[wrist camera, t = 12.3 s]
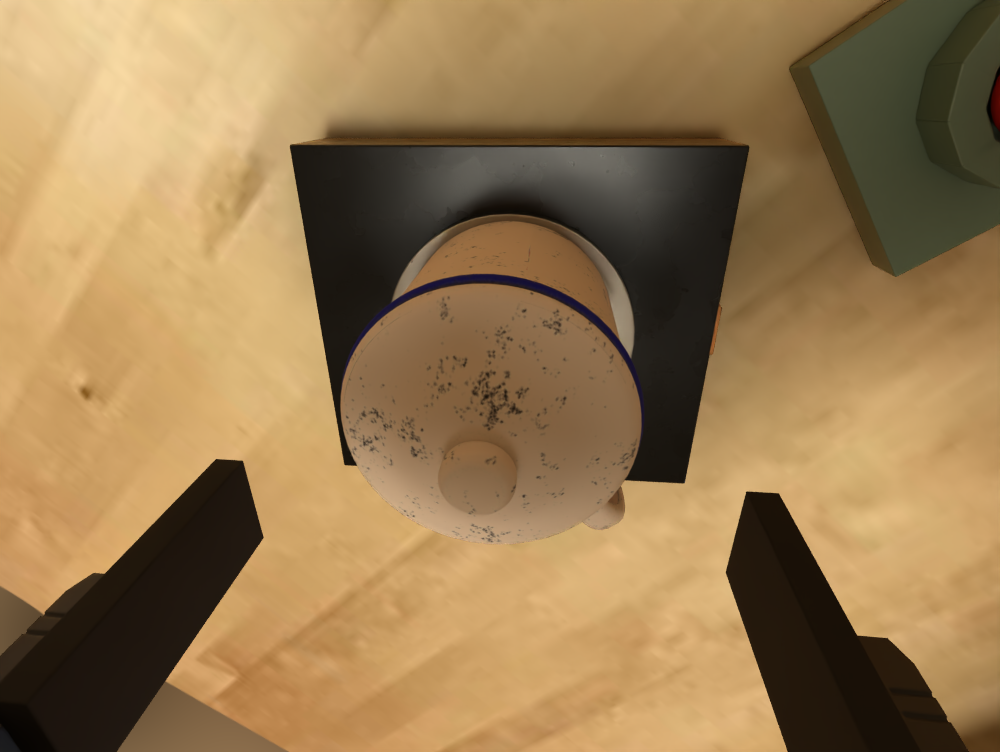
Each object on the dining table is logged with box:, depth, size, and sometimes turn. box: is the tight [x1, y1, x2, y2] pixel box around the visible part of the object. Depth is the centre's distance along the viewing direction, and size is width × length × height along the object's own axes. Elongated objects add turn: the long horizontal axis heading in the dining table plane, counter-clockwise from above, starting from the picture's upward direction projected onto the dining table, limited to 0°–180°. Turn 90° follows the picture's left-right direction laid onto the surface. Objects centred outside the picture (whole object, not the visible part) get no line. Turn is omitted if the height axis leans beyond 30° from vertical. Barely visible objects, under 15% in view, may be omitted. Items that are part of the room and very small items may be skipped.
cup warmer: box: [290, 138, 749, 483], centre depth 26 cm, size 18×16×5 cm
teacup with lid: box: [341, 221, 644, 544], centre depth 19 cm, size 12×9×12 cm
